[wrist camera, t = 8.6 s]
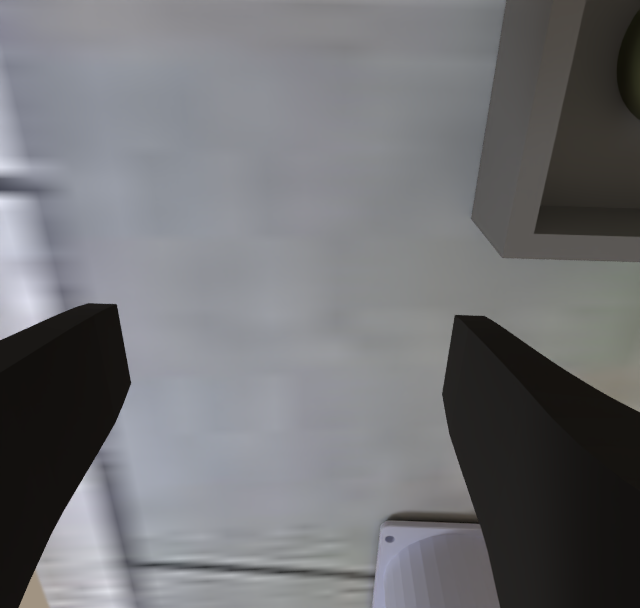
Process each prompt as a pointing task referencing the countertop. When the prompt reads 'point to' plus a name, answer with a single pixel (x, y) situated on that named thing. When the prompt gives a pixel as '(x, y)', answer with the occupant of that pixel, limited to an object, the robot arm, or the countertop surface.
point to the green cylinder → (630, 67)
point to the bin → (560, 136)
